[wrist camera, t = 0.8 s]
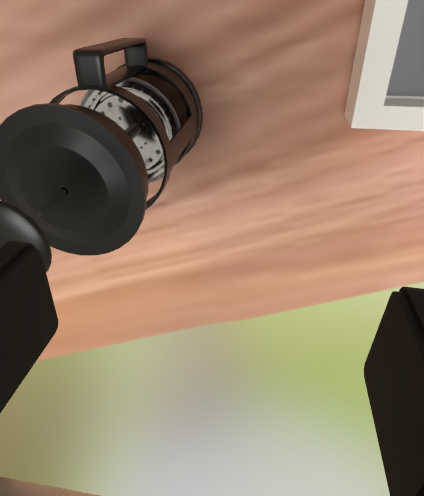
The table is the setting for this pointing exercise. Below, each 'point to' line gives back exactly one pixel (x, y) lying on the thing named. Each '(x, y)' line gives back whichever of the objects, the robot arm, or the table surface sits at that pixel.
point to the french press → (93, 154)
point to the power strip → (388, 67)
